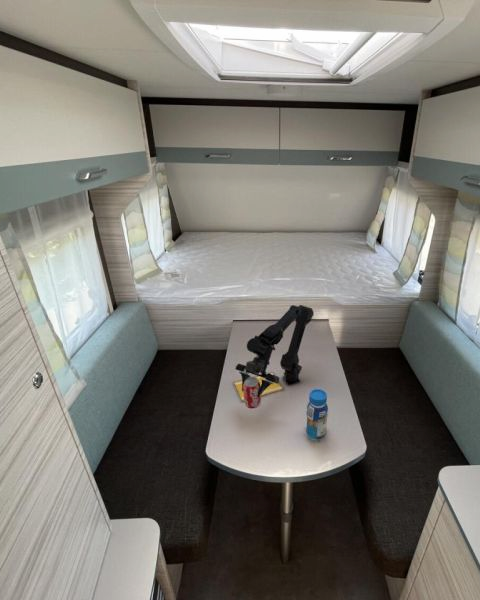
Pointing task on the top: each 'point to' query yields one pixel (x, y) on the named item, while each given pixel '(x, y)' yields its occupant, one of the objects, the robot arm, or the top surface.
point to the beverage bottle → (317, 414)
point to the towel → (268, 390)
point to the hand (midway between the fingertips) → (250, 394)
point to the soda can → (251, 392)
